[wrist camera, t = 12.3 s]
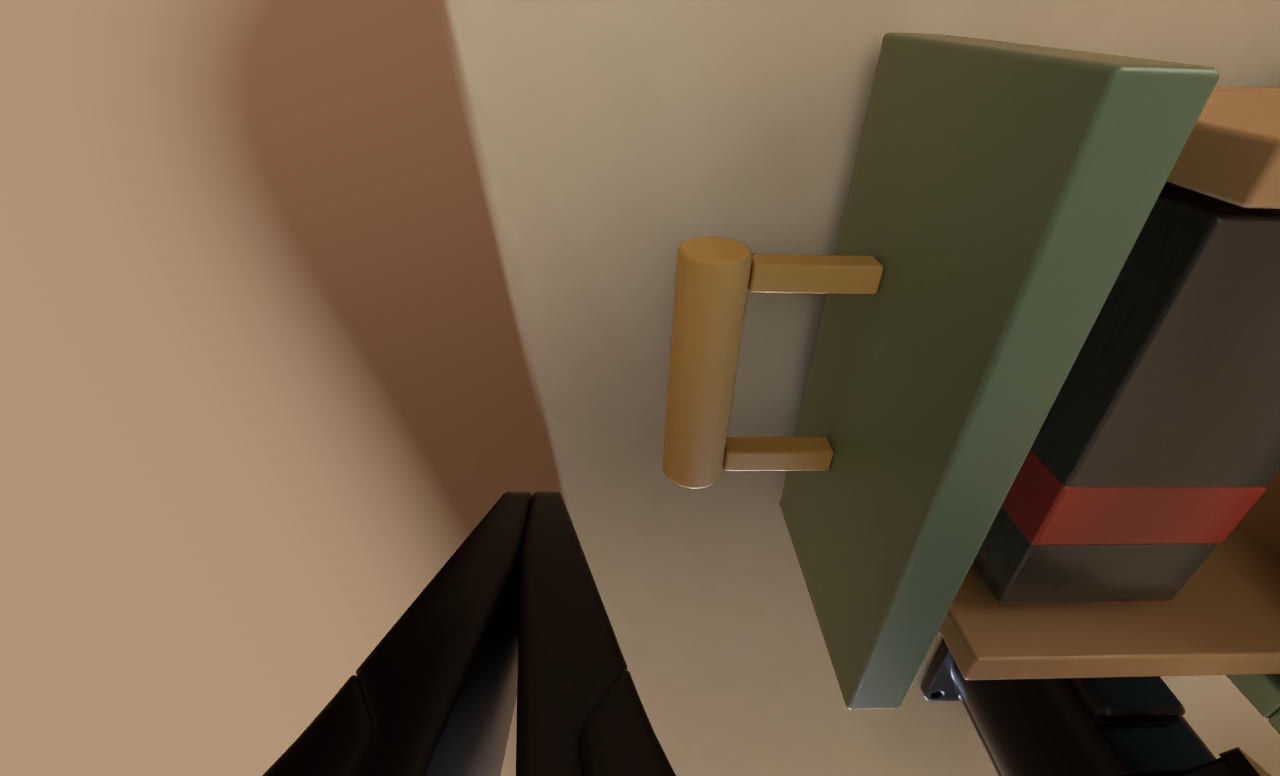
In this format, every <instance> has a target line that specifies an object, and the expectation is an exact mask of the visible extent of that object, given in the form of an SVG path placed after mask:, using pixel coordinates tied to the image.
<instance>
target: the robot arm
mask: <svg viewBox="0 0 1280 776" xmlns="http://www.w3.org/2000/svg"><path fill="white" fill-rule="evenodd" d="M356 675H357V676H355V675H353V676H351V677H350V678H349V680H348V681H347V682H346V683H345V684H344V686H343V687H342V688H341V689H340V690H339V692H338V693H337V694H336V695H335V697H334V698H333V699H332V700H331V701H330V702H329V703H328V705H327V706H326V707H325V708H324V709H323V710H322V711H321V713H320V714H319V715H318V716H317V717H316V718H315V720H314V721H313V722H312V723H311V724H310V725H309V726H308V727H307V729H306V730H305V731H304V732H303V733H302V734H301V735H300V737H299V738H298V739H297V740H296V741H295V742H294V743H293V744H292V745H291V746H290V747H289V748H288V749H287V750H286V752H285V753H284V754H283V755H282V756H281V757H280V758H279V759H278V760H277V761H276V762H275V763H274V764H273V765H272V766H271V767H270V768H269V769H268V770H267V771H266V772H265V774H264V775H263V776H500V774H501V769H502V765H503V760H504V755H505V750H506V745H507V740H508V735H509V730H510V725H511V721H512V716H513V711H514V706H515V701H516V696H517V746H516V751H517V752H516V776H676V775H675V773H674V771H673V769H672V767H671V765H670V763H669V761H668V759H667V757H666V755H665V753H664V751H663V749H662V747H661V745H660V743H659V741H658V739H657V737H656V735H655V733H654V731H653V729H652V726H651V724H650V721H649V719H648V717H647V714H646V712H645V710H644V707H643V705H642V703H641V700H640V698H639V695H638V693H637V690H636V688H635V685H634V682H633V680H632V677H631V675H630V672H629V671H627V665H626V662H625V660H624V657H623V655H622V652H621V649H620V647H619V644H618V642H617V639H616V636H615V634H614V631H613V628H612V626H611V623H610V621H609V618H608V615H607V613H606V610H605V608H604V605H603V602H602V600H601V597H600V594H599V592H598V589H597V587H596V584H595V581H594V579H593V576H592V574H591V571H590V568H589V566H588V563H587V561H586V558H585V555H584V553H583V550H582V547H581V545H580V542H579V540H578V537H577V534H576V532H575V529H574V527H573V524H572V521H571V519H570V516H569V513H568V511H567V508H566V506H565V503H564V500H563V498H562V495H561V494H560V493H559V492H535V493H534V495H532V493H530V492H506V493H505V494H503V495H502V497H501V498H500V499H499V500H498V501H497V503H496V504H495V505H494V506H493V508H492V509H491V510H490V511H489V512H488V513H487V515H486V516H485V517H484V518H483V519H482V521H481V522H480V523H479V524H478V525H477V527H476V528H475V529H474V530H473V531H472V533H471V534H470V535H469V536H468V537H467V538H466V540H465V541H464V542H463V543H462V545H461V546H460V547H459V548H458V549H457V551H456V552H455V553H454V554H453V555H452V556H451V558H450V559H449V560H448V561H447V562H446V564H445V565H444V566H443V568H441V570H440V571H439V572H438V573H437V574H436V576H435V577H434V578H433V579H432V580H431V582H430V583H429V584H428V585H427V586H426V588H425V589H424V590H423V592H421V594H420V595H419V596H418V597H417V599H416V600H415V601H414V602H413V603H412V605H411V606H410V607H409V608H408V609H407V611H406V612H405V613H404V614H403V615H402V616H401V618H400V619H399V620H398V621H397V622H396V624H395V625H394V626H393V627H392V628H391V630H390V631H389V632H388V633H387V634H386V636H385V637H384V638H383V639H382V640H381V642H380V643H379V644H378V645H377V646H376V648H375V649H374V650H373V651H372V652H371V654H370V655H369V656H368V658H366V660H365V661H364V662H363V663H362V664H361V666H360V667H359V668H358V669H357V671H356ZM921 690H922V693H923V695H924V697H925V699H926V700H929V701H958V700H962V702H963V705H964V707H965V709H966V711H967V713H968V715H969V717H970V719H971V721H972V723H973V725H974V727H975V729H976V731H977V733H978V735H979V737H980V739H981V741H982V743H983V745H984V747H985V749H986V751H987V753H988V755H989V757H990V759H991V761H992V763H993V765H994V767H995V769H996V771H997V773H998V775H999V776H1271V775H1270V774H1269V773H1268V772H1266V771H1265V770H1264V769H1263V768H1262V767H1261V766H1259V765H1258V764H1257V763H1256V762H1255V761H1254V760H1253V759H1251V758H1250V757H1249V756H1248V755H1247V754H1246V753H1244V752H1243V751H1242V750H1241V749H1240V748H1239V747H1237V748H1234V749H1231V750H1229V751H1226V752H1223V753H1221V754H1219V755H1220V756H1221V758H1219V759H1216V758H1215V757H1214V755H1213V754H1212V753H1211V752H1210V750H1209V749H1208V748H1207V746H1206V745H1205V744H1204V743H1203V741H1202V740H1201V739H1200V738H1199V736H1198V735H1197V734H1196V733H1195V731H1194V730H1193V729H1192V728H1191V726H1190V725H1189V724H1188V722H1187V721H1186V720H1185V719H1184V717H1183V716H1182V715H1183V714H1184V713H1185V709H1184V707H1183V705H1182V704H1181V703H1180V701H1179V700H1178V699H1177V698H1176V696H1175V695H1174V694H1173V693H1172V691H1171V690H1170V689H1169V688H1168V687H1167V685H1166V684H1165V683H1164V682H1163V680H1162V679H1161V678H1160V677H1159V676H1145V677H1097V678H1049V679H1001V680H965V679H964V677H963V676H962V674H961V672H960V670H959V668H958V666H957V664H956V662H955V660H954V658H953V656H952V654H951V652H950V650H949V648H948V646H947V644H946V642H945V641H944V643H943V645H942V647H941V649H940V651H939V653H938V655H937V656H936V658H935V660H934V662H933V664H932V666H931V668H930V670H929V672H928V674H927V675H926V677H925V679H924V681H923V683H922V685H921Z"/></svg>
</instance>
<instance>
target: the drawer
mask: <svg viewBox="0 0 1280 776" xmlns="http://www.w3.org/2000/svg"><path fill="white" fill-rule="evenodd" d="M1219 73H1220V72H1219V71H1217V70H1216V69H1214V68H1213V67H1207V66H1199V65H1190V64H1182V63H1174V62H1166V61H1157V60H1149V59H1141V58H1132V57H1124V56H1116V55H1108V54H1099V53H1091V52H1083V51H1074V50H1066V49H1058V48H1050V47H1041V46H1033V45H1025V44H1017V43H1008V42H1000V41H992V40H983V39H975V38H967V37H959V36H950V35H942V34H915V33H887V34H885V36H884V38H883V42H882V46H881V51H880V55H879V60H878V64H877V69H876V73H875V78H874V82H873V87H872V91H871V96H870V100H869V105H868V109H867V114H866V118H865V123H864V127H863V132H862V136H861V141H860V145H859V150H858V154H857V159H856V163H855V168H854V172H853V177H852V181H851V186H850V190H849V195H848V199H847V204H846V208H845V213H844V217H843V222H842V226H841V231H840V235H839V240H838V244H837V249H836V253H835V255H773V254H752V252H751V249H750V248H749V247H748V246H746V245H745V244H743V243H741V242H738V241H735V240H732V239H727V238H721V237H699V238H693V239H689V240H686V241H684V242H683V243H681V245H680V246H679V248H678V255H677V269H676V284H675V298H674V313H673V327H672V342H671V357H670V371H669V386H668V400H667V415H666V429H665V444H664V458H663V469H664V472H665V474H666V476H667V477H668V478H669V479H670V480H671V481H672V482H674V483H675V484H677V485H679V486H682V487H685V488H691V489H700V488H705V487H708V486H710V485H712V484H714V483H715V482H716V481H717V480H718V479H719V478H720V476H721V473H722V468H723V466H724V470H725V471H787V474H786V478H785V483H784V487H783V492H782V496H781V501H780V506H781V509H782V512H783V515H784V518H785V521H786V524H787V527H788V530H789V533H790V536H791V540H792V543H793V546H794V549H795V552H796V555H797V558H798V561H799V564H800V567H801V570H802V573H803V576H804V579H805V582H806V585H807V588H808V591H809V594H810V597H811V600H812V603H813V606H814V609H815V612H816V616H817V619H818V622H819V625H820V628H821V631H822V634H823V637H824V640H825V643H826V646H827V649H828V652H829V655H830V658H831V661H832V664H833V667H834V670H835V673H836V676H837V679H838V682H839V685H840V688H841V692H842V695H843V698H844V701H845V704H846V706H847V708H848V709H879V708H897V707H899V706H900V704H901V702H902V701H903V699H904V697H905V695H906V693H907V691H908V689H909V687H910V685H911V683H912V681H913V679H914V677H915V675H916V673H917V671H918V669H919V667H920V665H921V663H922V661H923V659H924V657H925V655H926V653H927V651H928V649H929V647H930V645H931V643H932V641H933V640H934V638H935V636H936V634H937V632H938V630H939V631H940V633H941V635H942V637H943V639H944V641H945V642H946V644H947V646H948V648H949V650H950V652H951V654H952V656H953V658H954V660H955V662H956V664H957V666H958V668H959V670H960V672H961V674H962V676H963V677H964V679H965V680H1001V679H1049V678H1097V677H1145V676H1193V675H1241V674H1280V469H1279V470H1278V471H1277V472H1276V474H1275V475H1274V476H1273V477H1272V479H1271V480H1270V481H1269V482H1268V483H1267V485H1266V486H1267V490H1266V491H1265V492H1264V493H1263V495H1262V496H1261V497H1260V498H1259V499H1258V501H1257V502H1256V503H1255V504H1254V505H1253V507H1252V508H1251V509H1250V510H1249V512H1248V513H1247V514H1246V515H1245V516H1244V518H1243V519H1242V520H1241V521H1240V522H1239V524H1238V525H1237V526H1236V527H1235V529H1234V530H1233V531H1232V532H1231V533H1230V535H1229V536H1228V537H1227V538H1226V539H1225V541H1224V542H1222V543H1220V544H1218V545H1217V546H1216V547H1215V548H1214V549H1213V551H1212V552H1211V553H1210V554H1209V556H1208V557H1207V558H1206V559H1205V560H1204V562H1203V563H1202V564H1201V565H1200V567H1199V568H1198V569H1197V570H1196V571H1195V573H1194V574H1193V575H1192V576H1191V578H1190V579H1189V580H1188V581H1187V582H1186V584H1185V585H1184V586H1183V587H1182V589H1181V590H1180V591H1179V592H1178V593H1177V595H1176V596H1175V597H1174V598H1173V599H1172V600H1169V601H1108V602H1031V603H1001V602H999V601H997V599H996V598H995V596H994V595H993V593H992V591H991V590H990V588H989V587H988V585H987V584H986V582H985V580H984V579H983V577H982V576H981V574H980V573H979V571H978V570H977V568H976V566H975V565H974V563H973V561H974V559H975V557H976V555H977V553H978V551H979V549H980V547H981V545H982V543H983V541H984V539H985V537H986V535H987V533H988V531H989V529H990V527H991V525H992V523H993V521H994V520H995V518H996V516H997V514H998V512H999V510H1000V508H1001V506H1002V504H1003V502H1004V500H1005V498H1006V496H1007V494H1008V492H1009V490H1010V488H1011V486H1012V484H1013V482H1014V480H1015V478H1016V476H1017V474H1018V472H1019V470H1020V468H1021V466H1022V464H1023V462H1024V461H1025V459H1026V457H1027V455H1028V453H1029V451H1030V449H1031V447H1032V445H1033V443H1034V441H1035V439H1036V437H1037V435H1038V433H1039V431H1040V429H1041V427H1042V425H1043V423H1044V421H1045V419H1046V417H1047V415H1048V413H1049V411H1050V409H1051V407H1052V405H1053V403H1054V401H1055V400H1056V398H1057V396H1058V394H1059V392H1060V390H1061V388H1062V386H1063V384H1064V382H1065V380H1066V378H1067V376H1068V374H1069V372H1070V370H1071V368H1072V366H1073V364H1074V362H1075V360H1076V358H1077V356H1078V354H1079V352H1080V350H1081V348H1082V346H1083V344H1084V342H1085V341H1086V339H1087V337H1088V335H1089V333H1090V331H1091V329H1092V327H1093V325H1094V323H1095V321H1096V319H1097V317H1098V315H1099V313H1100V311H1101V309H1102V307H1103V305H1104V303H1105V301H1106V299H1107V297H1108V295H1109V293H1110V291H1111V289H1112V287H1113V285H1114V283H1115V281H1116V280H1117V278H1118V276H1119V274H1120V272H1121V270H1122V268H1123V266H1124V264H1125V262H1126V260H1127V258H1128V256H1129V254H1130V252H1131V250H1132V248H1133V246H1134V244H1135V242H1136V240H1137V238H1138V236H1139V234H1140V232H1141V230H1142V228H1143V226H1144V224H1145V222H1146V221H1147V219H1148V217H1149V215H1150V213H1151V211H1152V209H1153V207H1154V205H1155V203H1156V201H1157V199H1158V197H1159V195H1160V193H1161V191H1162V189H1163V187H1164V185H1165V183H1166V182H1169V183H1172V184H1175V185H1178V186H1181V187H1184V188H1187V189H1190V190H1193V191H1196V192H1199V193H1202V194H1205V195H1208V196H1211V197H1214V198H1217V199H1220V200H1223V201H1226V202H1229V203H1232V204H1235V205H1238V206H1241V207H1243V208H1265V209H1280V88H1262V87H1229V86H1215V85H1216V83H1217V81H1218V79H1219ZM748 287H749V290H750V292H753V293H815V294H826V298H825V303H824V307H823V312H822V316H821V321H820V325H819V330H818V334H817V339H816V343H815V348H814V352H813V357H812V361H811V366H810V370H809V375H808V379H807V384H806V388H805V393H804V397H803V402H802V406H801V411H800V415H799V420H798V424H797V429H796V433H795V437H727V433H728V425H729V418H730V411H731V404H732V397H733V390H734V383H735V376H736V369H737V362H738V355H739V348H740V341H741V334H742V327H743V320H744V313H745V306H746V299H747V292H748Z"/></svg>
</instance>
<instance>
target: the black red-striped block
mask: <svg viewBox="0 0 1280 776" xmlns="http://www.w3.org/2000/svg"><path fill="white" fill-rule="evenodd" d="M1279 469H1280V209H1265V208H1243V207H1241V206H1238V205H1235V204H1232V203H1229V202H1226V201H1223V200H1220V199H1217V198H1214V197H1211V196H1208V195H1205V194H1202V193H1199V192H1196V191H1193V190H1190V189H1187V188H1184V187H1181V186H1178V185H1175V184H1172V183H1169V182H1166V183H1165V185H1164V187H1163V189H1162V191H1161V193H1160V195H1159V197H1158V199H1157V201H1156V203H1155V205H1154V207H1153V209H1152V211H1151V213H1150V215H1149V217H1148V219H1147V221H1146V222H1145V224H1144V226H1143V228H1142V230H1141V232H1140V234H1139V236H1138V238H1137V240H1136V242H1135V244H1134V246H1133V248H1132V250H1131V252H1130V254H1129V256H1128V258H1127V260H1126V262H1125V264H1124V266H1123V268H1122V270H1121V272H1120V274H1119V276H1118V278H1117V280H1116V281H1115V283H1114V285H1113V287H1112V289H1111V291H1110V293H1109V295H1108V297H1107V299H1106V301H1105V303H1104V305H1103V307H1102V309H1101V311H1100V313H1099V315H1098V317H1097V319H1096V321H1095V323H1094V325H1093V327H1092V329H1091V331H1090V333H1089V335H1088V337H1087V339H1086V341H1085V342H1084V344H1083V346H1082V348H1081V350H1080V352H1079V354H1078V356H1077V358H1076V360H1075V362H1074V364H1073V366H1072V368H1071V370H1070V372H1069V374H1068V376H1067V378H1066V380H1065V382H1064V384H1063V386H1062V388H1061V390H1060V392H1059V394H1058V396H1057V398H1056V400H1055V401H1054V403H1053V405H1052V407H1051V409H1050V411H1049V413H1048V415H1047V417H1046V419H1045V421H1044V423H1043V425H1042V427H1041V429H1040V431H1039V433H1038V435H1037V437H1036V439H1035V441H1034V443H1033V445H1032V447H1031V449H1030V451H1029V453H1028V455H1027V457H1026V459H1025V461H1024V462H1023V464H1022V466H1021V468H1020V470H1019V472H1018V474H1017V476H1016V478H1015V480H1014V482H1013V484H1012V486H1011V488H1010V490H1009V492H1008V494H1007V496H1006V498H1005V500H1004V502H1003V504H1002V506H1001V508H1000V510H999V512H998V514H997V516H996V518H995V520H994V521H993V523H992V525H991V527H990V529H989V531H988V533H987V535H986V537H985V539H984V541H983V543H982V545H981V547H980V549H979V551H978V553H977V555H976V557H975V559H974V561H973V563H974V565H975V566H976V568H977V570H978V571H979V573H980V574H981V576H982V577H983V579H984V580H985V582H986V584H987V585H988V587H989V588H990V590H991V591H992V593H993V595H994V596H995V598H996V599H997V601H999V602H1001V603H1031V602H1108V601H1169V600H1172V599H1173V598H1174V597H1175V596H1176V595H1177V593H1178V592H1179V591H1180V590H1181V589H1182V587H1183V586H1184V585H1185V584H1186V582H1187V581H1188V580H1189V579H1190V578H1191V576H1192V575H1193V574H1194V573H1195V571H1196V570H1197V569H1198V568H1199V567H1200V565H1201V564H1202V563H1203V562H1204V560H1205V559H1206V558H1207V557H1208V556H1209V554H1210V553H1211V552H1212V551H1213V549H1214V548H1215V547H1216V546H1217V545H1218V544H1220V543H1222V542H1224V541H1225V539H1226V538H1227V537H1228V536H1229V535H1230V533H1231V532H1232V531H1233V530H1234V529H1235V527H1236V526H1237V525H1238V524H1239V522H1240V521H1241V520H1242V519H1243V518H1244V516H1245V515H1246V514H1247V513H1248V512H1249V510H1250V509H1251V508H1252V507H1253V505H1254V504H1255V503H1256V502H1257V501H1258V499H1259V498H1260V497H1261V496H1262V495H1263V493H1264V492H1265V491H1266V490H1267V486H1266V485H1267V483H1268V482H1269V481H1270V480H1271V479H1272V477H1273V476H1274V475H1275V474H1276V472H1277V471H1278V470H1279Z"/></svg>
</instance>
